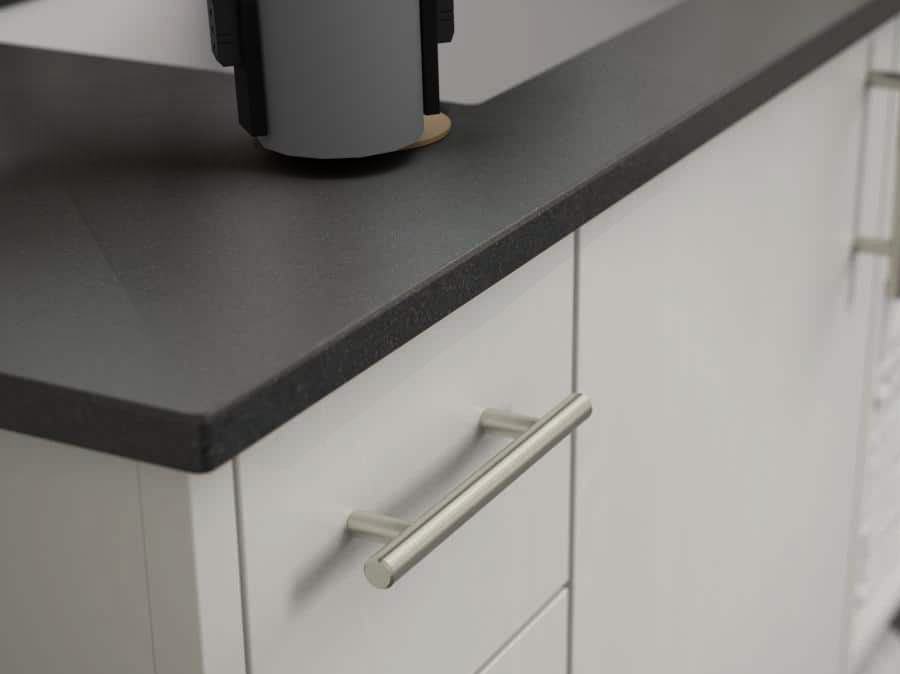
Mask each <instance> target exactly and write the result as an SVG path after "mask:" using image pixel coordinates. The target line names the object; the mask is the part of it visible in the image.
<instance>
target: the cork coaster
mask: <svg viewBox="0 0 900 674" xmlns="http://www.w3.org/2000/svg"><path fill="white" fill-rule="evenodd" d="M423 115H424V114H423ZM451 129H452V121H451V119H450V117H448V116H447V115H446V114H444V113H443V112H441V111H440V114H437V115H429V116H426V115H424V132H423V133H422V135H421V137H420V138H419V140H418V141H417V142H415V143H413V144H410V145H408V146H406V147H403V148H401V149H399V150H396V151H395V152H399V151H405V150H412V149H415V148H420V147H424V146H427V145H430V144H434V143H436V142H438V141H440V140H442V139H444V138H445V137H447V136H448V135H449V134H450V133H451Z"/></svg>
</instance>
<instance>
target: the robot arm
mask: <svg viewBox="0 0 900 674" xmlns="http://www.w3.org/2000/svg"><path fill="white" fill-rule="evenodd" d="M454 2H455V1H454V0H419V8H420V35H421V62H422V88H423V114H424V115H426V116H429V115H437V114H440V112H441V103H440V102H441V99H440V73H439V72H440V68H439V45H440V44H448V43H452V41H453V38H454V35H455V3H454ZM206 7H207V17H208V18H207V19H208V28H209V38H210V47H211V48H210V49H211V52H212V55H213V57H214V58H215V61H216V62H217V63H218V64H219V65H221V67H223V68H230V67H233V75H234V85H235V96H236V97H235V98H236V106H237V107H236V109H237V118H238V124H239V126H240V127H242V128H243V130H245V131H246V133H248V135H250V137H251V138H257V137H259V136H267V125H266V114H265V102H264V90H263V78H262V66H261V54H260V42H259V30H258V19H257V7H256V0H206Z"/></svg>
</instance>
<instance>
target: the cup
mask: <svg viewBox="0 0 900 674" xmlns="http://www.w3.org/2000/svg"><path fill="white" fill-rule="evenodd" d="M256 7H257V19H258V30H259V42H260V54H261V66H262V78H263V90H264V102H265V114H266V125H267V136H259V137H256V138H257V139H258V141H259V142H260V144H261V145H262V147H263V148H264V149H267V150H270V151H274V152H277V153H278V154H282V155H285V156H290V157H300V158H308V159H309V158H312V159H320V160H328V159H349V158H350V159H351V158H365V157H370V156H374V155H376V156H377V155H380V154H381V155H382V154H385V153H391V152H397V151H396V150H399V149H401V148H403V147H406V146H408V145H410V144H413V143H415V142H417V141H418V140H419V138H420V137H421V135H422V133H423V132H424V115H423V88H422V62H421V35H420V8H419V0H256Z"/></svg>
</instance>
